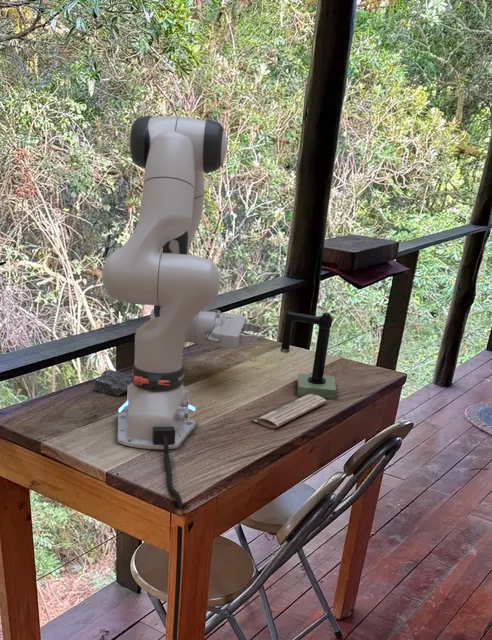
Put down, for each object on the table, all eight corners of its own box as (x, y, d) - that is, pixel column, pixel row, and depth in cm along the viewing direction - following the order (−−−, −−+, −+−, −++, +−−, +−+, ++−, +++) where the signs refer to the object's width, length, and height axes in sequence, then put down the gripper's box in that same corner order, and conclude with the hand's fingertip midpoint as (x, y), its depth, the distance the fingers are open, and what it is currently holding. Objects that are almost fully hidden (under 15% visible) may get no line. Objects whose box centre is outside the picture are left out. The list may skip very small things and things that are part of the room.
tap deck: (334, 398, 200) (336, 390, 199) (297, 395, 201) (298, 386, 199) (332, 384, 209) (334, 376, 208) (297, 381, 210) (298, 373, 209)
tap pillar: (325, 385, 201) (334, 330, 194) (308, 383, 202) (315, 329, 194) (325, 379, 205) (333, 325, 198) (307, 377, 206) (315, 324, 198)
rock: (123, 398, 193) (123, 383, 191) (91, 390, 197) (91, 374, 195) (139, 390, 198) (140, 375, 196) (108, 382, 203) (108, 367, 200)
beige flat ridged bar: (276, 429, 180) (277, 422, 179) (252, 421, 184) (253, 414, 183) (326, 404, 196) (327, 398, 195) (302, 397, 200) (303, 391, 199)
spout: (328, 357, 201) (335, 312, 195) (324, 360, 198) (331, 315, 192) (282, 349, 206) (288, 304, 199) (278, 352, 203) (283, 307, 197)
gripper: (203, 327, 194) (256, 332, 192) (215, 308, 211) (263, 312, 209) (202, 351, 197) (254, 356, 195) (213, 330, 214) (261, 335, 212)
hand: (259, 333), depth 202 cm, fingers open, 8 cm apart
